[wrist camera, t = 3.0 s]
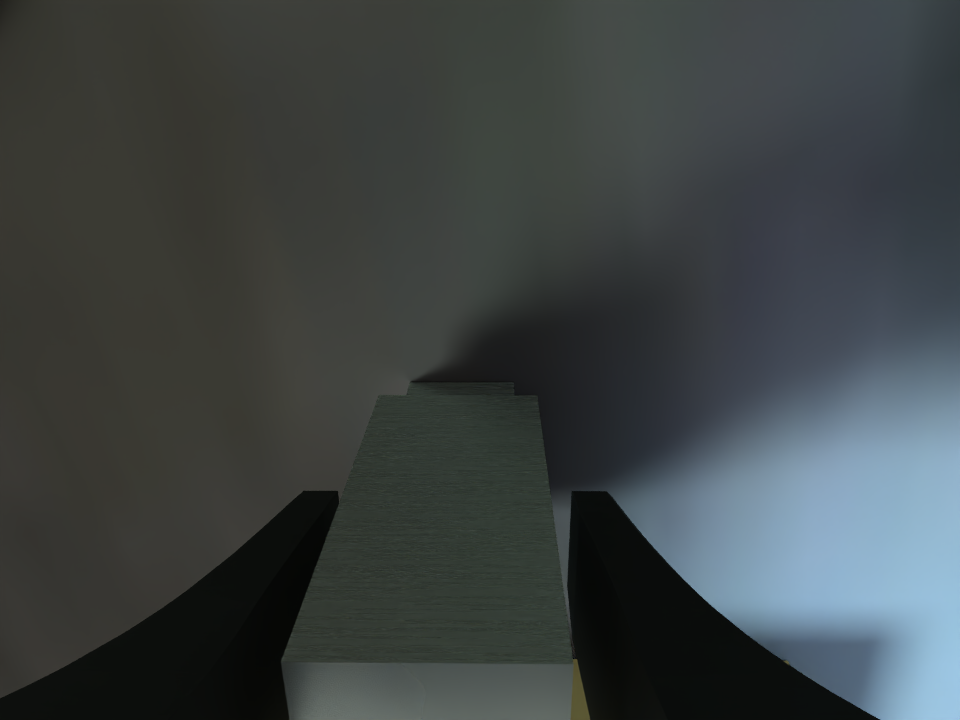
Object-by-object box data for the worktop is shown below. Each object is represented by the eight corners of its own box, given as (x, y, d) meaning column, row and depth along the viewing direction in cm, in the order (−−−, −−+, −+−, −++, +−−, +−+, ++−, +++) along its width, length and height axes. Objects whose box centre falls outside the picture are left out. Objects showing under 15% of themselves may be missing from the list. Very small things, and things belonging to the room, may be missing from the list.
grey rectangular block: (533, 364, 14) (573, 663, 7) (529, 524, 16) (560, 911, 9) (389, 365, 15) (281, 662, 7) (400, 524, 16) (318, 907, 9)
